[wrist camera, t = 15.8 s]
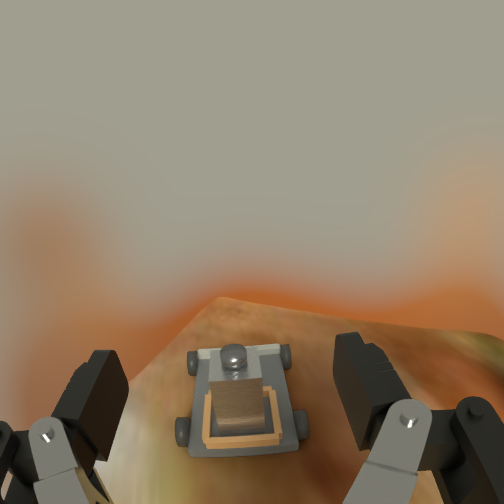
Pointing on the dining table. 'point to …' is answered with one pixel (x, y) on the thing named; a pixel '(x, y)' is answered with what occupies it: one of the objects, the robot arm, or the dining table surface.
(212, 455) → the chassis
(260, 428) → the block
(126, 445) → the dining table surface
